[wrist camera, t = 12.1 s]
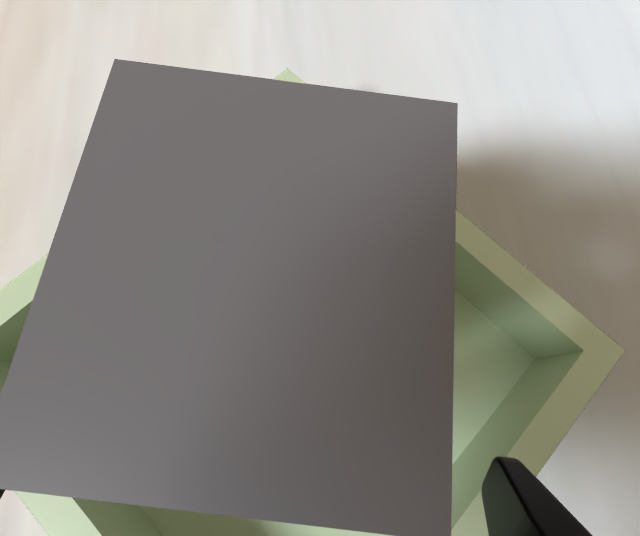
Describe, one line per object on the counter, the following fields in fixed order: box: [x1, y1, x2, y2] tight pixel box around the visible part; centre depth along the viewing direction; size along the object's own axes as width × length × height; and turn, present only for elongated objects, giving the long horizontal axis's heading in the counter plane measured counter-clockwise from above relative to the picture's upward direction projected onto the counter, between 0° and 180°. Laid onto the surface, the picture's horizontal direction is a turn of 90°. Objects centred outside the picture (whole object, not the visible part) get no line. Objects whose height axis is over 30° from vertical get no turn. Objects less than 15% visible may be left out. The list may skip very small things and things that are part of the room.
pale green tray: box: [0, 68, 625, 536], centre depth 15 cm, size 16×16×4 cm
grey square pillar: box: [0, 59, 457, 536], centre depth 10 cm, size 5×4×12 cm
